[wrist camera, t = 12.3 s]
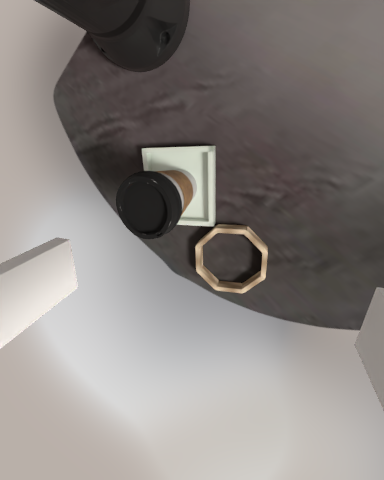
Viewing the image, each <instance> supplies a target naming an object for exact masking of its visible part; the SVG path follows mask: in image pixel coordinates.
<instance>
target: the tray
mask: <svg viewBox="0 0 384 480" xmlns="http://www.w3.org/2000/svg"><path fill="white" fill-rule="evenodd" d="M142 157H143V166H144V171H166V170H178V169H181V170H185V171H188V172H189V173H190V174H192V175H193V177H194V178H195V180H196V183H197V192H196V195H195V197H194V198H193V199H192V201H191V202H190V204H189V205H188V207H187V208H186V210H185V211H184V213H183V214H182V216H181V217H180V220H179V222H178V223H177V225H194V226H214V225H215V146H189V147H159V148H142Z"/></svg>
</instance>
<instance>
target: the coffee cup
mask: <svg viewBox="0 0 384 480" xmlns="http://www.w3.org/2000/svg"><path fill="white" fill-rule="evenodd" d="M196 192H197V183H196V180H195V178H194V177H193V175H192V174H190V173H189V172H188V171H185V170H181V169H178V170H166V171H141V172H138V173H134V174H133V175H131V176H129V177H128V178H127V179H126V180H125V181H124V182H123V183H122V184H121V186H120V187H119V189H118V192H117V196H116V206H117V210H118V213H119V216H120V218H121V220H122V222H123V223H124V225H125V226H126V227H127V228H128V229H129V230H130V231H131V232H132V233H133V234H134V235H136V236H138V237H140V238H143V239H154V238H159V237H161V236H163V235H164V234H167V233H169V232H170V231H171V230H172V229H173V228H174V227H175V226H176V225H177V223H178V222H179V220H180V217H181V216H182V214H183V213H184V211H185V210H186V208H187V207H188V205H189V204H190V202H191V201H192V199H193V198H194V197H195V195H196Z"/></svg>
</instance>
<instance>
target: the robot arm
mask: <svg viewBox="0 0 384 480" xmlns="http://www.w3.org/2000/svg"><path fill="white" fill-rule="evenodd" d="M35 1H36V2H38V3H40V4H42V5H43V6H45V7H47V8H48V9H50V10H52V11H54V12H55V13H57V14H59V15H60V16H62V17H64V18H66V19H67V20H69V21H71V22H73V23H74V24H76V25H78V26H79V27H81V28H83V29H84V30H86V31H87V33H88V34H89V35H90V37H92V39H93V41H94V42H95V44H96V45H97V47H98V48H99V49H100V50H101V52H102V53H103V54H104V55H105V56H106V57H107V58H108V59H110V60H111V61H112V62H114V63H115V64H117V65H119V66H121V67H123V68H125V69H127V70H130V71H135V72H146V71H150V70H153V69H155V68H157V67H159V66H161V65H162V64H164V63H165V62H166V61H167V60H168V59H169V58H170V57H171V56H172V55H173V53H174V52H175V51H176V49H177V48H178V46H179V44H180V42H181V40H182V38H183V35H184V33H185V30H186V26H187V22H188V16H189V6H190V0H35ZM77 288H78V284H77V278H76V272H75V268H74V262H73V256H72V250H71V244H70V240H69V239H62V238H55V239H53V240H50V241H48V242H46V243H44V244H42V245H40V246H38V247H35V248H33V249H31V250H29V251H27V252H25V253H23V254H21V255H18V256H16V257H14V258H12V259H10V260H8V261H6V262H3V263H1V264H0V349H1V348H2V347H3V346H4V345H6V344H7V343H8V342H10V340H12V339H13V338H15V337H16V336H17V335H18V334H20V333H21V332H22V331H23V330H25V329H26V328H27V327H29V326H30V325H31V324H32V323H33V322H35V321H36V320H37V319H39V318H40V317H41V316H43V315H44V314H45V313H46V312H48V311H49V310H50V309H51V308H53V307H54V306H55V305H56V304H57V303H59V302H60V301H62V300H63V299H64V298H65V297H67V296H68V295H69V294H70V293H72V292H73V291H74V290H76V289H77ZM355 347H356V349H357V351H358V353H359V356H360V358H361V360H362V362H363V365H364V367H365V369H366V371H367V374H368V376H369V378H370V380H371V383H372V385H373V387H374V390H375V392H376V394H377V396H378V399H379V401H380V403H381V406H382V408H383V410H384V288H379V287H377V288H376V291H375V293H374V296H373V298H372V301H371V304H370V306H369V309H368V311H367V314H366V316H365V319H364V322H363V324H362V327H361V329H360V332H359V335H358V337H357V340H356V342H355Z"/></svg>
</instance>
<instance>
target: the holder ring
mask: <svg viewBox="0 0 384 480" xmlns="http://www.w3.org/2000/svg"><path fill="white" fill-rule="evenodd" d="M216 233H232V234H244V235H245V236H246V237H247V238H248V239H249V240H250V241H251V242H252V243H253V244H254V245H255V246H256V247H257V248H258V249H259V250H260V251H261V252H262V263H261V271H259V272H258V273H256V274H255V275H254V276H252V277H251V278H249V279H248V280H246V281H245V282H244V283H236V282H227V281H219V280H218V279H217V278H216V277H215V276H214V275H213V274H212V273H211V272H210V271H209V270H208V269H207V268H206V267H205V266H204V265H203V245H204V244H205V243H206V242H207V241H208V240H209V239H211V238H212V237H213V236H214V235H215V234H216ZM195 250H196V271H197V273H199V274H200V275H201V276H202V277H203V278H204V279H205V280H206V281H207V282H208V283H209V284H210V285H211V286H212V287H213V288H214V289H216V290H219V291H227V292H235V293H245V292H246V291H248V290H249V289H251V288H252V287H253V286H255V285H256V284H258V283H259V282H261V281H262V280H264V279H265V277H266V266H267V254H268V247H267V245H266V244H265V243H264V242H263V241H262V240H261V239H260V238H259V237H258V236H257V235H256V234H255V233H254V232H253V231H252V230H251V229H250V228H249V227H248V226H246V225H226V224H218V225H216V226H215V227H214V228H213V229H212V230H211V231H209V232H208V233H207V234H206V235H205V236H204V237H203V238H202V239H201V240H199V241H198V243H197V245H196V247H195Z"/></svg>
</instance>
